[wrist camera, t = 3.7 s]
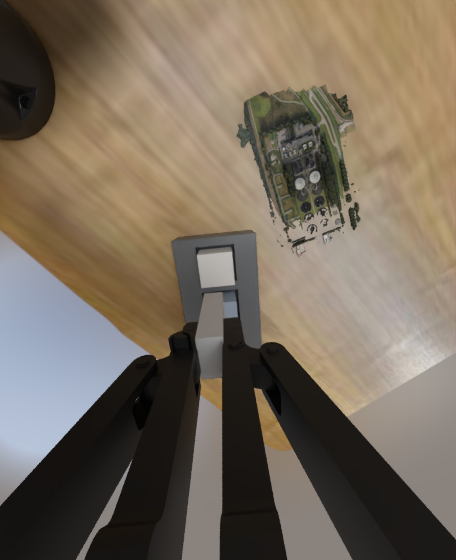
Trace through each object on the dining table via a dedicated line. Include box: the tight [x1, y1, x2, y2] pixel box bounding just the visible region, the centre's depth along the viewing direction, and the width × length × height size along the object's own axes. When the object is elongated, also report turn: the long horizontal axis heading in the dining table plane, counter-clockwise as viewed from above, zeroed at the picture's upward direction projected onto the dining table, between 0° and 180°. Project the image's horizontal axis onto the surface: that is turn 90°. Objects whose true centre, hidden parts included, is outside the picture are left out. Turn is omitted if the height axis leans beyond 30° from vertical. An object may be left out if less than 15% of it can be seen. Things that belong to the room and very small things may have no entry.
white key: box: [197, 247, 235, 288], centre depth 30 cm, size 5×5×4 cm
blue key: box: [222, 291, 238, 318], centre depth 32 cm, size 5×5×4 cm
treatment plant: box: [237, 85, 361, 256], centre depth 31 cm, size 25×18×4 cm
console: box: [171, 230, 261, 349], centre depth 36 cm, size 12×22×5 cm, turn 5°
